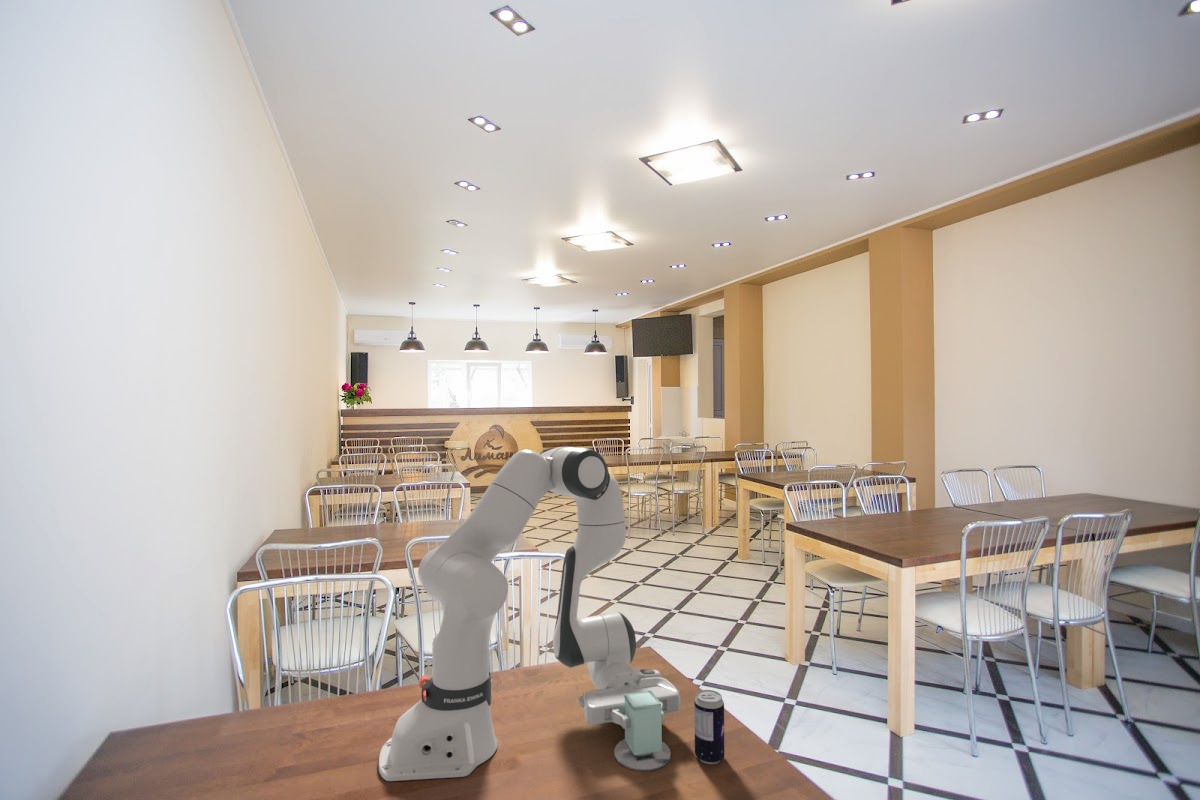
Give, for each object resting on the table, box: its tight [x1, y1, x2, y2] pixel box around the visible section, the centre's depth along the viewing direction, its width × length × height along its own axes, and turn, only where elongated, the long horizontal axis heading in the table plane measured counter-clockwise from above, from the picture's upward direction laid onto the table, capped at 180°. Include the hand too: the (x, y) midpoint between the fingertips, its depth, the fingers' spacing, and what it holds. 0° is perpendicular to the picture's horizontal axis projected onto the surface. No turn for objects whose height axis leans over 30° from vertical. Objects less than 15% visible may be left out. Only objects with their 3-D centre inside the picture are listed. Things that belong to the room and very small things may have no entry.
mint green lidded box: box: [624, 690, 663, 755], centre depth 117 cm, size 6×6×9 cm
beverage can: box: [693, 689, 726, 765], centre depth 115 cm, size 6×6×12 cm
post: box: [613, 738, 672, 772], centre depth 116 cm, size 11×11×8 cm
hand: (644, 721), depth 116 cm, fingers closed on mint green lidded box, 6 cm apart
